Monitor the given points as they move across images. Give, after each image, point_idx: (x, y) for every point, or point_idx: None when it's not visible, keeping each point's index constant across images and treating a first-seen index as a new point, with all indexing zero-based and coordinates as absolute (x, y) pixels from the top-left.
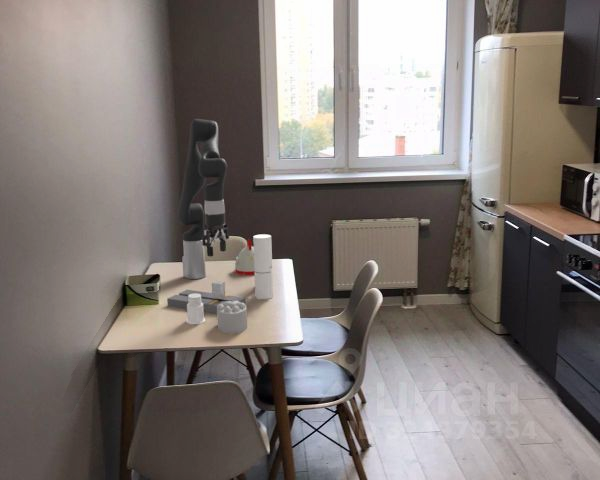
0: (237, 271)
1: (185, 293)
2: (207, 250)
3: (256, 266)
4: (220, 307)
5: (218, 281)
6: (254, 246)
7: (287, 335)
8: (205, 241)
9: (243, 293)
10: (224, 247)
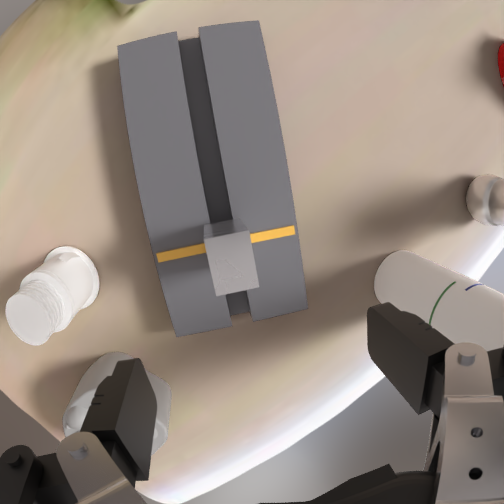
0: (502, 56)
1: (212, 49)
2: (91, 416)
3: (448, 326)
4: (69, 426)
5: (248, 250)
6: None
7: (177, 491)
8: (33, 501)
9: (397, 192)
10: (387, 374)
